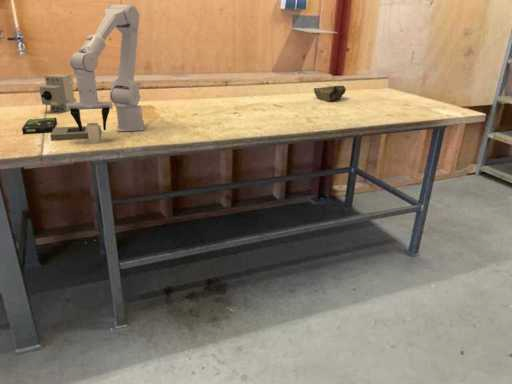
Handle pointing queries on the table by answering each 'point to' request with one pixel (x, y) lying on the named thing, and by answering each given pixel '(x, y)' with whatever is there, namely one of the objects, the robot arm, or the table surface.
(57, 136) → the outlet plate
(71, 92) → the circuit breaker
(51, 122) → the disk drive
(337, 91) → the concrete fragment
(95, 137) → the block
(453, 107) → the table surface
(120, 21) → the robot arm
